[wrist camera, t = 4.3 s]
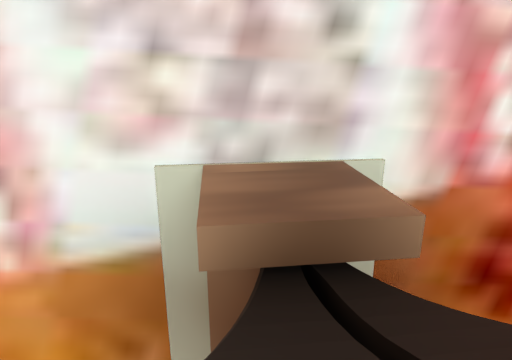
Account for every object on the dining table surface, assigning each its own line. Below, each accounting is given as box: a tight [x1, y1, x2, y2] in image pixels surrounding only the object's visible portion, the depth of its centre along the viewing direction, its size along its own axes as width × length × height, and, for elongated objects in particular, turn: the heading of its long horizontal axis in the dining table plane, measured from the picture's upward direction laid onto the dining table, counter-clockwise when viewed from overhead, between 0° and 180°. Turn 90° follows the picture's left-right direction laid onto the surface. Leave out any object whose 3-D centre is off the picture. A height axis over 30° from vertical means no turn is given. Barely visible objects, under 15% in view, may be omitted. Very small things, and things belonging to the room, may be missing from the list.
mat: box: [154, 159, 385, 360], centre depth 14 cm, size 8×12×1 cm, turn 0°
